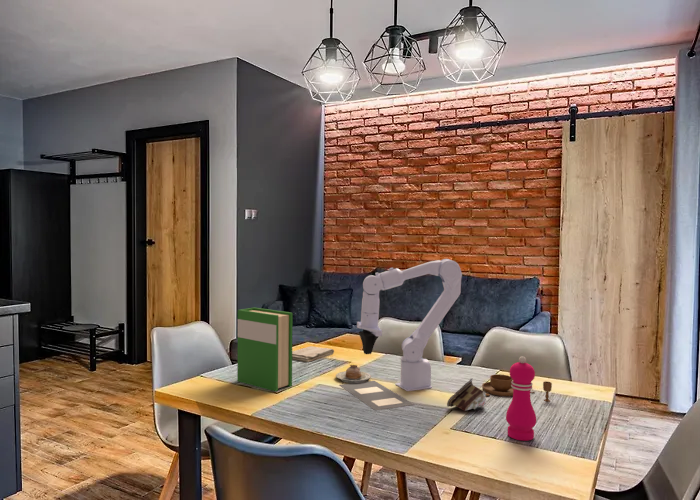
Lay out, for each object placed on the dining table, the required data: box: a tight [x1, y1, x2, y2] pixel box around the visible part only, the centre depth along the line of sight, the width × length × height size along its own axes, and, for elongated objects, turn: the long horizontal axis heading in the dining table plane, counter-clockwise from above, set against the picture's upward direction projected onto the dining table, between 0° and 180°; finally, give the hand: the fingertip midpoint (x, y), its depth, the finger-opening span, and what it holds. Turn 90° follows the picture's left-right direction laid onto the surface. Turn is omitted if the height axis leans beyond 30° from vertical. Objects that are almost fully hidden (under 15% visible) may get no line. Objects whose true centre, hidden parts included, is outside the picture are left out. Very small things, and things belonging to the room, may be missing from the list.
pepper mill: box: [505, 355, 537, 442], centre depth 130 cm, size 7×7×20 cm
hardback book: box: [236, 307, 294, 392], centre depth 171 cm, size 18×7×24 cm, turn 54°
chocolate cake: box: [446, 378, 487, 412], centre depth 150 cm, size 10×7×12 cm
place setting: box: [481, 373, 553, 403], centre depth 164 cm, size 18×20×6 cm
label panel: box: [339, 380, 415, 411], centre depth 162 cm, size 13×26×1 cm, turn 24°
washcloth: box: [292, 346, 335, 363], centre depth 210 cm, size 12×18×3 cm, turn 149°
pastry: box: [335, 364, 372, 384], centre depth 178 cm, size 12×12×5 cm
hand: (367, 353), depth 171 cm, fingers closed
